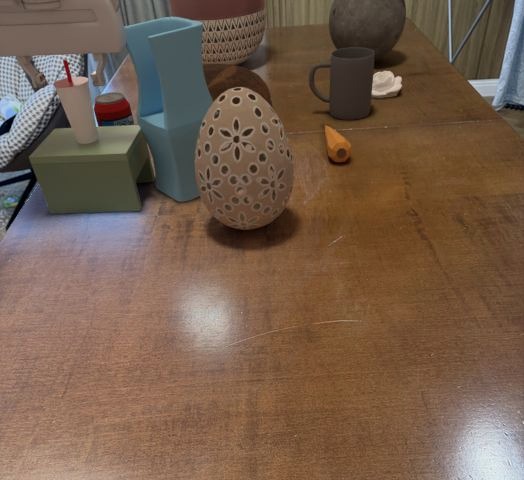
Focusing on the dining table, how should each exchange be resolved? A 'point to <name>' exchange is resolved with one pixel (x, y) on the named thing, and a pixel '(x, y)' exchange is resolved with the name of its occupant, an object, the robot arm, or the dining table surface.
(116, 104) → the beverage can
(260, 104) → the ornament
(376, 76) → the rose
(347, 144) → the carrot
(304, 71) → the dining table surface
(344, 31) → the decorative sphere
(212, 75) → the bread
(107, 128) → the sage green box
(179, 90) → the vase
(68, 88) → the cup
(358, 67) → the mug
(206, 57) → the planter
